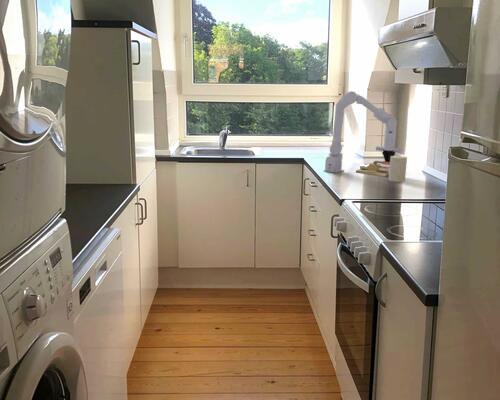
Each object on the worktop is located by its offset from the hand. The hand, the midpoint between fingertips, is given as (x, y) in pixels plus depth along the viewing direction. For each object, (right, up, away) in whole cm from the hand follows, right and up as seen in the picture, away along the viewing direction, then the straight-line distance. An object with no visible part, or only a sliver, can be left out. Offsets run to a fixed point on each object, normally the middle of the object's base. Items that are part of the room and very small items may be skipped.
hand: (387, 164), depth 303 cm
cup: (0, -9, -17) cm, 19 cm away
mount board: (-7, -4, +3) cm, 9 cm away
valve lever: (-3, 0, -1) cm, 3 cm away
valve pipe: (-7, -4, +3) cm, 9 cm away
